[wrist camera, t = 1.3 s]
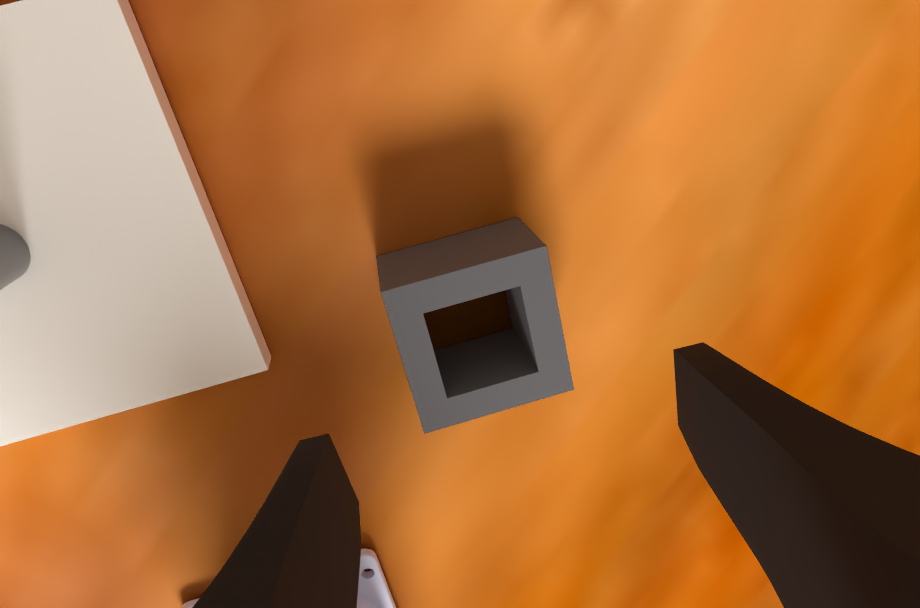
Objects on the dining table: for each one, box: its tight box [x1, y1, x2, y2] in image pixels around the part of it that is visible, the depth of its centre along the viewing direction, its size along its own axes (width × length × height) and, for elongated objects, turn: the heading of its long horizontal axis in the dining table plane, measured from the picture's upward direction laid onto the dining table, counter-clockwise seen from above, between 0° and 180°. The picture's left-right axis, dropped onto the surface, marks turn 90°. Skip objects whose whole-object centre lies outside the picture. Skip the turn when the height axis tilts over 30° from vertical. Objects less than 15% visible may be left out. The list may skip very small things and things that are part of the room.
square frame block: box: [376, 217, 574, 434], centre depth 21 cm, size 5×5×4 cm
